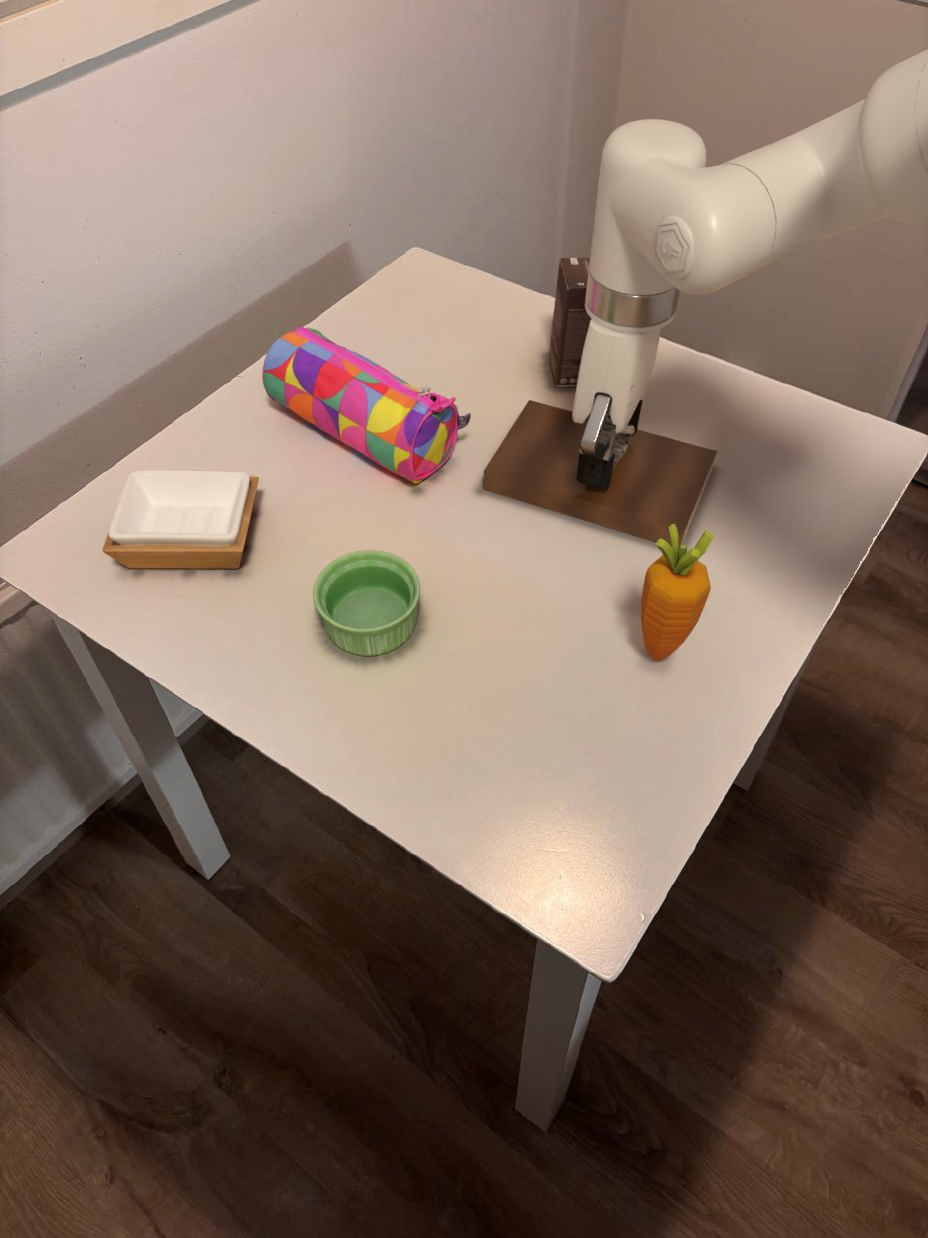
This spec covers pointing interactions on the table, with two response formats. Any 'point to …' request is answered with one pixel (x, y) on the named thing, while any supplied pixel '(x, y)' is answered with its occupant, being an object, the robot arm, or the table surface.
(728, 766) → the table surface
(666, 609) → the carrot
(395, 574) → the ramekin
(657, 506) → the cutting board
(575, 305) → the box
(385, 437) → the pencil case
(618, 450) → the wristwatch
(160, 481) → the soap dish
